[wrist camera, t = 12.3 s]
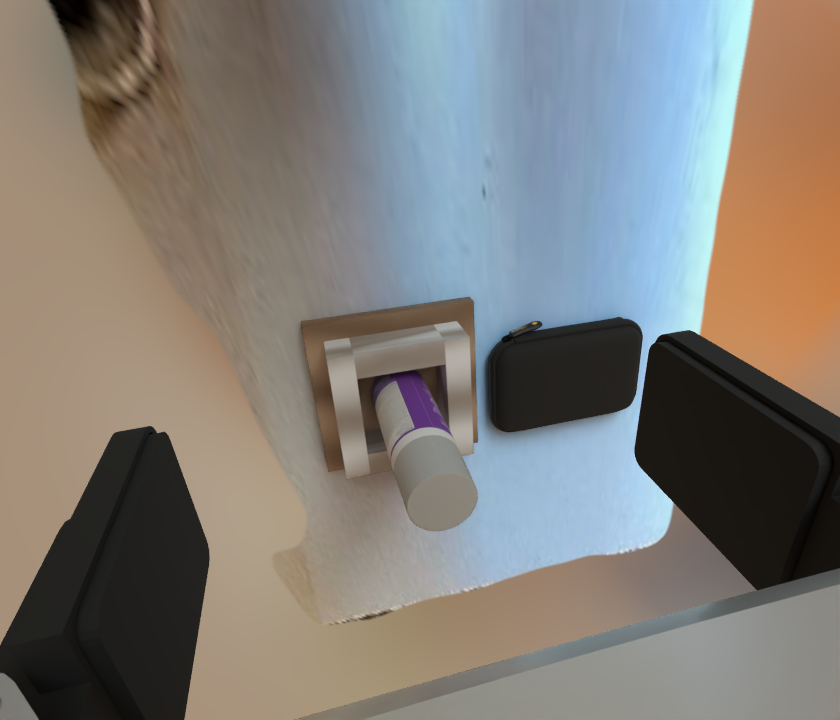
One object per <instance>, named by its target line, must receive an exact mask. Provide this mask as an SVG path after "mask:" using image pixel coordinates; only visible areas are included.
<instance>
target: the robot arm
mask: <svg viewBox="0 0 840 720" xmlns="http://www.w3.org/2000/svg"><path fill="white" fill-rule="evenodd" d="M635 457H636V461H637V463H638V465H639V466H640V467H641V468H642V470H643V471H644V472H645V473H646V474H647V475H648V476H649V477H650V478H651V479H652V480H653V481H654V482H655V483H656V484H657V485H658V486H659V487H660V489H661V490H662V491H663V492H664V493H665V494H666V495H667V496H668V497H669V498H670V499H671V500H672V501H673V502H674V503H675V504H676V505H677V506H678V507H679V509H680V510H681V511H682V512H683V513H684V514H685V515H686V516H687V517H688V518H689V519H690V520H691V521H692V522H693V523H694V524H695V525H696V526H697V527H698V529H699V530H700V531H701V532H702V533H703V534H704V535H705V536H706V537H707V538H708V539H709V540H710V541H711V542H712V543H713V544H714V545H715V547H716V548H717V549H718V550H719V551H720V552H721V553H722V554H723V555H724V556H725V557H726V558H727V559H728V560H729V561H730V562H731V563H732V564H733V566H734V567H735V568H736V569H737V570H738V571H739V572H740V573H741V574H742V575H743V576H744V577H745V578H746V579H747V580H748V581H749V582H750V583H751V584H752V586H753V587H754V588H755V589H756V590H757V591H754V592H750V593H746V594H742V595H739V596H736V597H731V598H728V599H724V600H721V601H717V602H713V603H709V604H705V605H702V606H698V607H694V608H691V609H687V610H684V611H680V612H677V613H673V614H669V615H666V616H662V617H658V618H655V619H651V620H647V621H644V622H640V623H636V624H633V625H629V626H625V627H622V628H618V629H615V630H611V631H607V632H604V633H600V634H597V635H593V636H589V637H586V638H582V639H578V640H575V641H572V642H568V643H564V644H561V645H557V646H553V647H550V648H546V649H543V650H539V651H535V652H532V653H528V654H524V655H521V656H517V657H514V658H510V659H506V660H503V661H499V662H496V663H492V664H489V665H485V666H482V667H478V668H474V669H471V670H467V671H464V672H460V673H457V674H453V675H450V676H447V677H443V678H439V679H436V680H432V681H429V682H425V683H422V684H418V685H414V686H411V687H407V688H404V689H400V690H397V691H393V692H390V693H386V694H382V695H379V696H375V697H372V698H368V699H365V700H361V701H358V702H354V703H351V704H348V705H344V706H340V707H337V708H333V709H330V710H326V711H323V712H319V713H315V714H312V715H309V716H305V717H302V718H299V719H295V720H840V417H838V416H836V415H835V414H833V413H831V412H829V411H828V410H826V409H824V408H823V407H821V406H819V405H817V404H816V403H814V402H812V401H811V400H809V399H807V398H806V397H804V396H802V395H800V394H799V393H797V392H795V391H794V390H792V389H790V388H788V387H787V386H785V385H783V384H782V383H780V382H778V381H777V380H775V379H773V378H772V377H770V376H768V375H766V374H765V373H763V372H761V371H760V370H758V369H756V368H754V367H753V366H751V365H749V364H748V363H746V362H744V361H743V360H741V359H739V358H737V357H736V356H734V355H732V354H731V353H729V352H727V351H725V350H723V349H722V348H720V347H719V346H717V345H715V344H714V343H712V342H710V341H708V340H707V339H705V338H703V337H702V336H700V335H698V334H697V333H695V332H693V331H690V330H687V331H681V332H675V333H669V334H664V335H661V336H659V337H658V338H657V340H656V342H655V343H654V344H653V345H651V347H650V349H649V354H648V361H647V368H646V375H645V381H644V388H643V395H642V402H641V409H640V415H639V422H638V429H637V436H636V443H635ZM208 568H209V548H208V543H207V540H206V537H205V534H204V532H203V529H202V526H201V523H200V521H199V518H198V515H197V512H196V510H195V507H194V504H193V502H192V499H191V496H190V493H189V491H188V488H187V485H186V482H185V479H184V477H183V474H182V472H181V468H180V466H179V463H178V460H177V457H176V455H175V452H174V449H173V447H172V444H171V441H170V439H169V436H168V435H167V433H165V432H161V433H157V432H156V430H155V429H154V428H153V427H151V426H148V427H143V428H137V429H131V430H126V431H120V432H116V433H114V434H113V435H112V437H111V439H110V441H109V443H108V445H107V447H106V449H105V451H104V453H103V455H102V457H101V459H100V461H99V463H98V465H97V467H96V469H95V471H94V473H93V475H92V477H91V479H90V481H89V483H88V485H87V487H86V489H85V491H84V493H83V495H82V497H81V499H80V501H79V503H78V505H77V507H76V509H75V511H74V513H73V515H72V517H71V519H69V520H68V521H66V522H65V523H64V524H63V526H62V527H61V529H60V530H59V532H58V534H57V536H56V538H55V540H54V542H53V544H52V546H51V548H50V550H49V551H48V554H47V555H46V557H45V559H44V561H43V563H42V566H41V567H40V569H39V571H38V573H37V575H36V577H35V579H34V581H33V583H32V585H31V586H30V589H29V590H28V592H27V594H26V596H25V598H24V600H23V602H22V604H21V606H20V608H19V610H18V612H17V614H16V616H15V618H14V620H13V622H12V624H11V626H10V627H9V629H8V631H7V633H6V636H5V637H4V639H3V641H2V643H1V645H0V720H184V718H185V712H186V705H187V699H188V692H189V687H190V680H191V674H192V668H193V661H194V655H195V649H196V642H197V637H198V630H199V623H200V617H201V611H202V604H203V599H204V593H205V586H206V579H207V574H208Z"/></svg>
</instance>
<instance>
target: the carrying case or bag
mask: <svg viewBox="0 0 840 720" xmlns="http://www.w3.org/2000/svg"><path fill="white" fill-rule="evenodd" d="M541 326H542V323H541V322H540V321H535V322H531V323H529V324H527V325H525V326H522V327H520V328H518V329H516V330H513V331H511V332H509V335H507V336H504V337H503V338H502V339H501V340H502V341H500V342H499V343H498V344H497V345H496V346H495V347H494V349H493V350H492V352H491V354H490V358H489V391H490V419H491V421H492V423H493V425H494V426H495V427H496V428H497V429H499V430H501V431H504V432H516V431H522V430H527V429H532V428H537V427H542V426H547V425H552V424H557V423H562V422H567V421H572V420H578V419H583V418H588V417H593V416H598V415H604V414H609V413H613V412H617V411H620V410H623V409H625V408H627V407H629V406H630V405H631V403H632V402H633V400H634V397H635V395H636V390H637V381H638V373H639V364H640V356H641V347H642V339H643V335H642V331H641V329H640V327H639V326H638V324H636V323H635V322H634V321H632V320H629V319H623V318H621V317H617V318H613V319H607V320H600V321H594V322H588V323H581V324H575V325H569V326H562V327H556V328H549V329H543V330H537V331H533V330H536V329H538V328H540V327H541Z"/></svg>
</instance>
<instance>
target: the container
mask: <svg viewBox="0 0 840 720" xmlns="http://www.w3.org/2000/svg"><path fill="white" fill-rule="evenodd" d="M371 396H372V400H373V403H374V407H375V410H376V414H377V417H378V421H379V424H380V428H381V431H382V434H383V438H384V441H385V445H386V448H387V452H388V455H389V459H390V462H391V465H392V469H393V471H394V474H395V477H396V480H397V483H398V486H399V489H400V492H401V495H402V498H403V501H404V504H405V507H406V510H407V513H408V516H409V518H410V519H411V521H412V522H413V523H414V524H415V525H416V526H418V527H420V528H422V529H425V530H429V531H442V530H447V529H450V528H453V527H455V526H457V525H459V524H460V523H462V522H463V521H464V520H466V519H467V518H468V517H469V516H470V514H471V513H472V512H473V510H474V508H475V506H476V503H477V498H478V493H477V489H476V486H475V484H474V482H473V480H472V477H471V475H470V473H469V471H468V469H467V466H466V464H465V462H464V460H463V458H462V455H461V453H460V451H459V449H458V447H457V444H456V442H455V440H454V438H453V436H452V434H451V432H450V430H449V428H448V426H447V424H446V422H445V420H444V418H443V416H442V414H441V413H440V411H439V409H438V407H437V405H436V403H435V401H434V399H433V397H432V395H431V393H430V391H429V389H428V387H427V385H426V383H425V381H424V379H423V377H422V376H421V374H420V373H419V371H418V370H416V369H415V370H409V371H403V372H397V373H391V374H385V375H379V376H375V378H374V380H373V382H372V385H371Z"/></svg>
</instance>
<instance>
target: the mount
mask: <svg viewBox="0 0 840 720" xmlns="http://www.w3.org/2000/svg"><path fill="white" fill-rule="evenodd" d="M301 327H302V333H303V338H304V343H305V349H306V354H307V360H308V365H309V370H310V376H311V381H312V387H313V392H314V397H315V403H316V408H317V413H318V419H319V424H320V430H321V435H322V440H323V446H324V451H325V457H326V462H327V467H328V472H330V471H335V470H340V469H345V472H346V478H347V479H349V478H354V477H359V476H364V475H369V474H374V473H379V472H384V471H389V470H393V469H392V465H391V462H390V459H389V455H388V452H387V448H386V445H385V441H384V438H383V434H382V431H381V428H380V424H379V421H378V417H377V414H376V410H375V407H374V403H373V400H372V396H371V385H372V382H373V380H374V378H375V376H379V375H385V374H391V373H397V372H403V371H409V370H415V369H416V370H418V371H419V373H420V374H421V376H422V377H423V379H424V381H425V383H426V385H427V387H428V389H429V391H430V393H431V395H432V397H433V399H434V401H435V403H436V405H437V407H438V409H439V411H440V413H441V414H442V416H443V418H444V420H445V422H446V424H447V426H448V428H449V430H450V432H451V434H452V436H453V438H454V440H455V442H456V444H457V447H458V449H459V451H460V453H461V455H462V456H465V455H470V454H474V448H473V443H477V442H478V432H477V399H476V365H475V332H474V301H473V300H472V299H471V298H470V297H465V298H458V299H452V300H445V301H438V302H431V303H424V304H418V305H411V306H404V307H397V308H391V309H384V310H377V311H370V312H363V313H357V314H350V315H343V316H336V317H329V318H323V319H316V320H309V321H302V322H301Z"/></svg>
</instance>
